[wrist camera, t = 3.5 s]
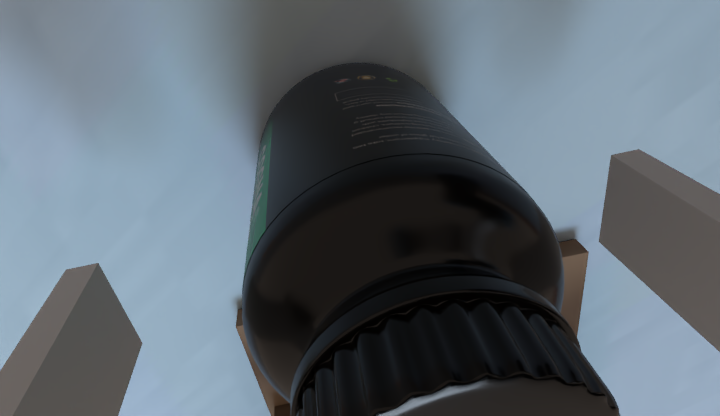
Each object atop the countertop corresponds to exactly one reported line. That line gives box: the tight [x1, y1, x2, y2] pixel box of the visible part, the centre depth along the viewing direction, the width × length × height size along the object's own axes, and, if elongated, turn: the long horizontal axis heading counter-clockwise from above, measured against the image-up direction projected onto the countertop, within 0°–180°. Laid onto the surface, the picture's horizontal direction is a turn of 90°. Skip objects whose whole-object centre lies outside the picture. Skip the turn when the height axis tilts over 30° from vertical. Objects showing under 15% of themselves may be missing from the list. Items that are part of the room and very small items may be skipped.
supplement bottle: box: [242, 63, 620, 416], centre depth 12 cm, size 7×7×12 cm
